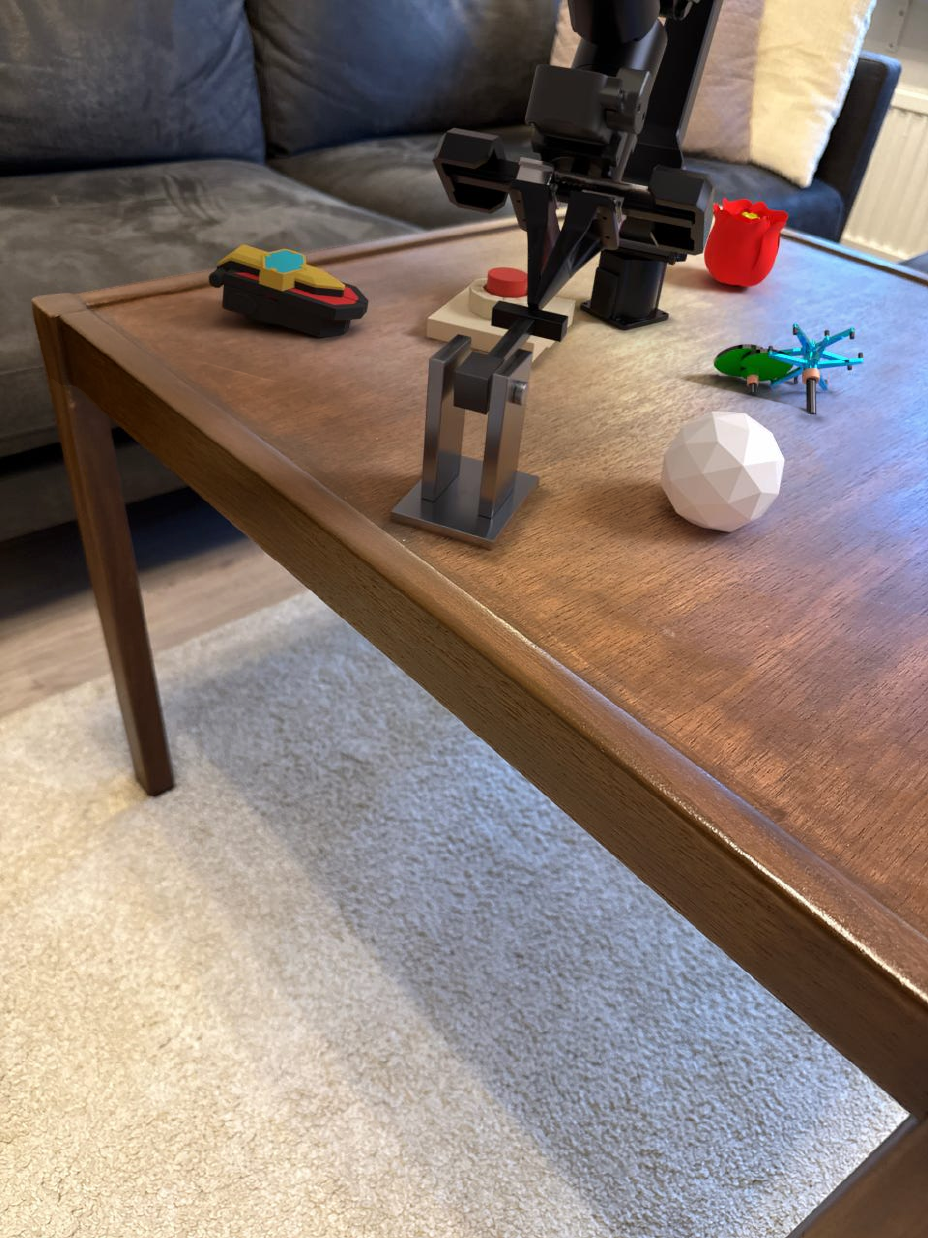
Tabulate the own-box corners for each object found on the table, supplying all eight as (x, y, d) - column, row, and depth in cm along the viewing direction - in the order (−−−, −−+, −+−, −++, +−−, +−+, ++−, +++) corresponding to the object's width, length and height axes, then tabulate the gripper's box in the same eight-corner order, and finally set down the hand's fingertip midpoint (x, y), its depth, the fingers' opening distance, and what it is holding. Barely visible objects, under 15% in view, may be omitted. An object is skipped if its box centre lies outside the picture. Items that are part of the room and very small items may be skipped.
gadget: (348, 360, 83) (358, 299, 79) (204, 314, 83) (208, 251, 79) (368, 333, 88) (379, 275, 84) (232, 290, 88) (237, 230, 84)
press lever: (497, 325, 66) (499, 291, 64) (565, 341, 64) (569, 307, 63) (431, 401, 58) (432, 365, 56) (507, 420, 57) (510, 385, 55)
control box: (475, 300, 93) (479, 259, 91) (572, 323, 91) (578, 281, 88) (425, 341, 84) (428, 297, 82) (531, 367, 82) (537, 322, 79)
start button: (494, 283, 87) (496, 263, 86) (531, 291, 86) (533, 272, 85) (480, 295, 84) (481, 275, 83) (517, 303, 84) (520, 283, 82)
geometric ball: (699, 570, 65) (690, 519, 58) (649, 479, 68) (634, 421, 61) (804, 520, 64) (807, 462, 57) (748, 430, 67) (744, 365, 60)
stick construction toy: (859, 363, 83) (865, 309, 76) (861, 434, 80) (868, 385, 73) (717, 375, 86) (710, 324, 79) (715, 444, 84) (708, 398, 77)
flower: (778, 284, 105) (800, 208, 100) (755, 302, 99) (777, 223, 94) (711, 266, 108) (729, 192, 103) (686, 283, 102) (703, 205, 97)
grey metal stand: (445, 465, 67) (457, 317, 61) (537, 491, 66) (560, 342, 59) (390, 526, 61) (396, 367, 54) (491, 557, 59) (510, 397, 52)
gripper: (452, -15, 59) (370, 216, 58) (750, 27, 54) (666, 279, 54) (487, 102, 70) (419, 299, 69) (739, 145, 65) (669, 357, 64)
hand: (533, 307), depth 64 cm, fingers closed, pressing on press lever
